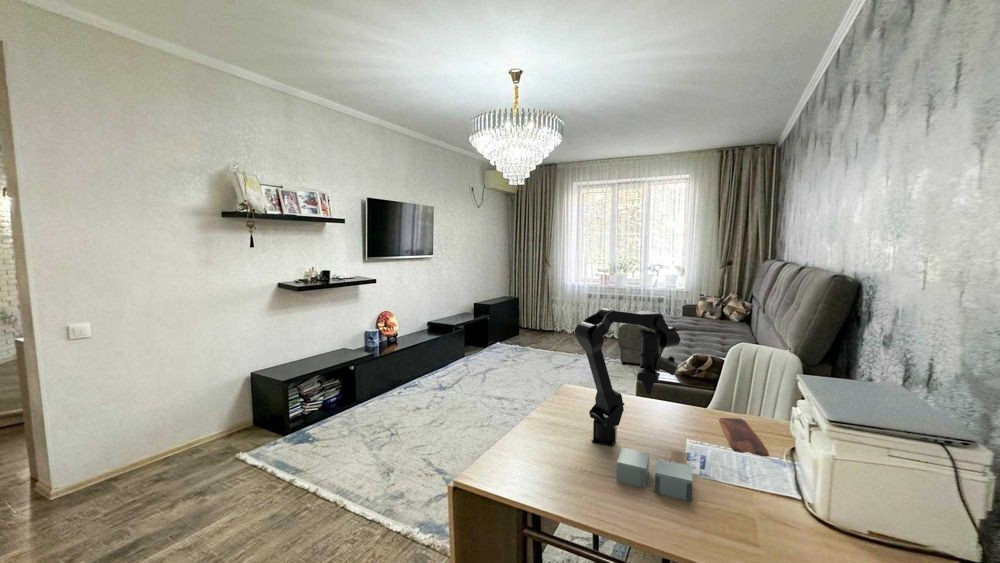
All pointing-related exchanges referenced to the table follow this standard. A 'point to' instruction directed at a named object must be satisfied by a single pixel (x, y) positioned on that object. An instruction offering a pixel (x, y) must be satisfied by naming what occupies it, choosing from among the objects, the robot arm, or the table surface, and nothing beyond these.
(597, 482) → the table surface
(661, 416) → the table surface
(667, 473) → the end cap
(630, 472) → the end cap
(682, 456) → the brown wooden bar
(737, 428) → the wooden tablet
